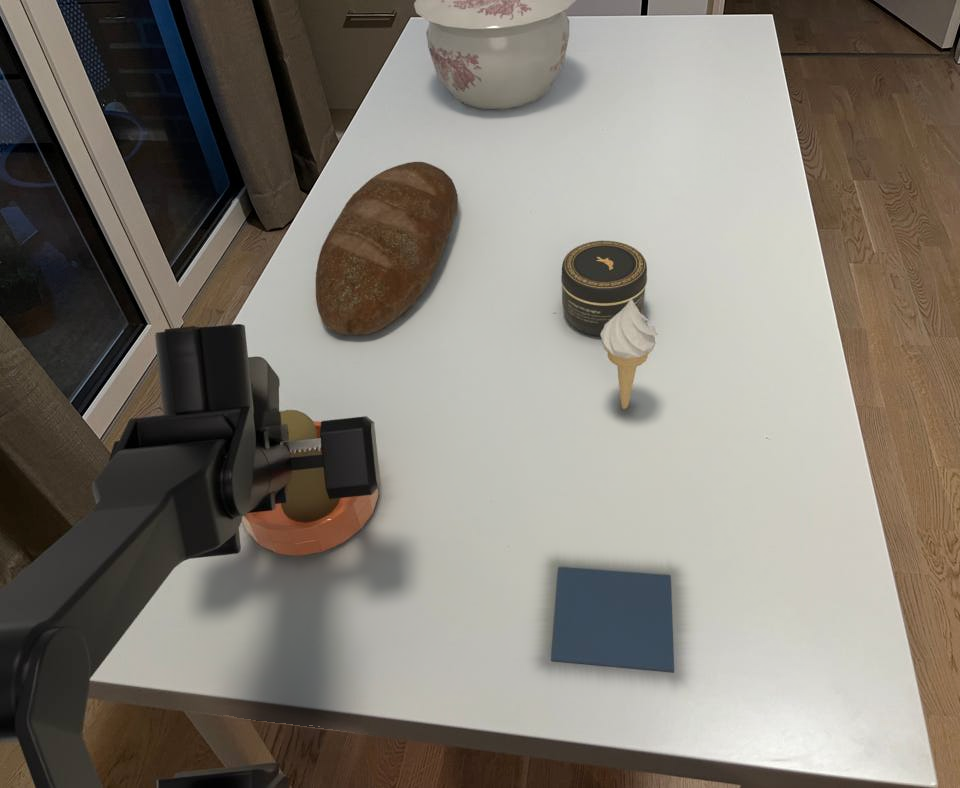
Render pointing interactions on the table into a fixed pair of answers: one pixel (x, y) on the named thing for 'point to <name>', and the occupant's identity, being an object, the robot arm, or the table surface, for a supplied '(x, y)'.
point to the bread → (384, 247)
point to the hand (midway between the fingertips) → (285, 458)
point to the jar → (601, 283)
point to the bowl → (310, 525)
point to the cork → (305, 475)
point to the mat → (613, 619)
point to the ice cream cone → (628, 345)
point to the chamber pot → (496, 48)
